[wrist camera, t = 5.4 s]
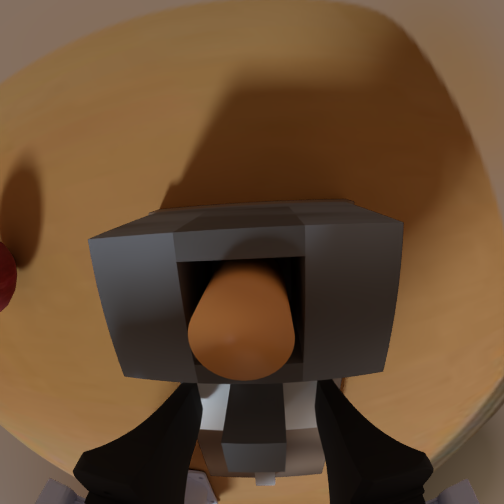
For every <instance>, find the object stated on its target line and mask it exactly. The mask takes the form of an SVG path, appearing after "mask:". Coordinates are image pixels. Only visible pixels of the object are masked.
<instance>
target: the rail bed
mask: <svg viewBox="0 0 504 504" xmlns="http://www.w3.org/2000/svg"><path fill="white" fill-rule="evenodd" d="M403 224H404V223H403V222H401V221H398V220H395V219H393V218H390V217H387V216H385V215H382V214H379V213H376V212H373V211H370V210H368V209H365V208H362V207H359V206H356V205H354V201H351V200H347V199H318V200H287V201H265V202H246V203H230V204H216V205H202V206H190V207H179V208H168V209H159V210H156V211H153V212H150V213H149V215H148V216H146V217H143V218H140V219H138V220H135V221H132V222H130V223H127V224H125V225H122V226H119V227H117V228H114V229H112V230H109V231H107V232H104V233H102V234H100V235H97V236H95V237H92V238H90V239H88V243H89V248H90V254H91V259H92V264H93V269H94V274H95V279H96V283H97V288H98V292H99V296H100V300H101V304H102V308H103V311H104V315H105V319H106V322H107V326H108V329H109V332H110V336H111V339H112V342H113V345H114V348H115V351H116V354H117V357H118V360H119V363H120V366H121V368H122V371H123V374H124V376H125V377H133V378H141V379H150V380H160V381H171V382H180V383H182V382H185V383H204V384H272V383H291V382H305V381H317V380H327V379H333V381H334V382H335V384H336V385H337V386H338V388H339V389H340V386H341V380H342V378H344V377H351V376H358V375H365V374H371V373H377V372H383V370H384V365H385V361H386V357H387V352H388V347H389V342H390V337H391V332H392V326H393V321H394V315H395V308H396V301H397V294H398V286H399V278H400V268H401V257H402V243H403ZM254 258H273V259H274V260H275V261H276V262H277V263H278V264H279V266H280V267H281V269H282V272H283V275H284V279H285V284H286V290H287V295H288V300H289V306H290V311H291V317H292V322H293V328H294V334H295V343H294V348H293V351H292V353H291V356H290V357H289V359H288V360H287V362H286V363H285V364H284V365H283V366H282V367H281V368H280V369H279V370H277V371H276V372H274V373H272V374H271V375H269V376H266V377H264V378H260V379H256V380H247V381H240V380H232V379H228V378H224V377H222V376H219V375H217V374H215V373H213V372H211V371H210V370H208V369H207V368H206V367H204V366H203V365H202V364H201V363H200V362H199V361H198V359H197V358H196V357H195V355H194V354H193V352H192V350H191V347H190V344H189V340H188V327H189V323H190V320H191V318H192V316H193V314H194V312H195V310H196V308H197V306H198V304H199V301H200V299H201V297H202V295H203V293H204V291H205V290H206V288H207V286H208V284H209V282H210V280H211V278H212V276H213V274H214V272H215V270H216V268H217V266H218V264H219V263H220V262H221V260H232V259H254ZM222 434H223V430H206V429H200V430H199V434H198V437H197V439H198V442H199V445H200V448H201V451H202V454H203V456H204V459H205V462H206V465H207V467H208V470H209V473H210V475H211V476H223V477H253V478H255V479H256V486H261V485H275V477H288V476H302V475H312V474H321V473H322V470H323V467H324V463H325V456H324V452H323V448H322V444H321V440H320V436H319V432H318V428H317V427H316V428H305V429H292V430H286V439H287V448H286V468H285V472H228V468H227V464H226V461H225V457H224V453H223V449H222V445H221V440H222Z"/></svg>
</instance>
